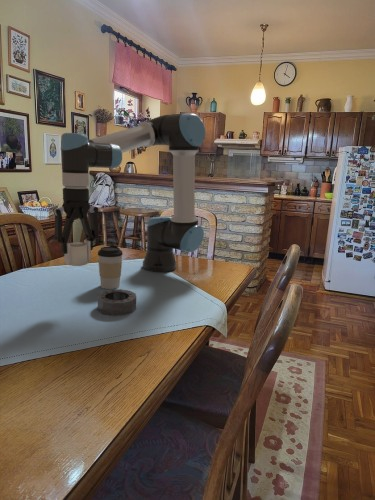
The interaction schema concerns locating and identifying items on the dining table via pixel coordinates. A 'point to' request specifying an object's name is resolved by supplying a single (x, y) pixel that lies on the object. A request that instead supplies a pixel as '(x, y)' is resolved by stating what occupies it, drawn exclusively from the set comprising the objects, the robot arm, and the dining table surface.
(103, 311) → the dark round ashtray
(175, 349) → the dining table surface
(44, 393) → the dining table surface
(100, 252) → the coffee cup
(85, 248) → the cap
